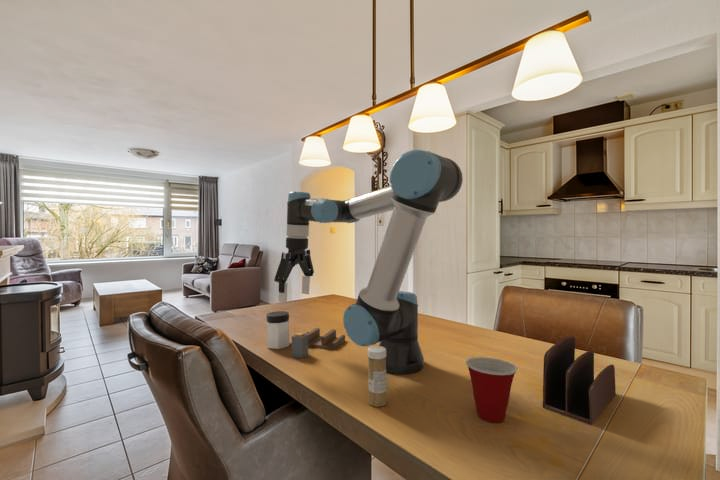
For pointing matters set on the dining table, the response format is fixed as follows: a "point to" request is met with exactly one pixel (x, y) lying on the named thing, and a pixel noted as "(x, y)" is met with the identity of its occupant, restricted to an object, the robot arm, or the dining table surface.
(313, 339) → the brown slotted rack
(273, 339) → the jar
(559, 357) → the letter holder
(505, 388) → the plastic cup
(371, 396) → the sprinkles bottle
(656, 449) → the dining table surface
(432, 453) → the dining table surface
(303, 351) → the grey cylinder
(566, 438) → the dining table surface
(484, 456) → the dining table surface
